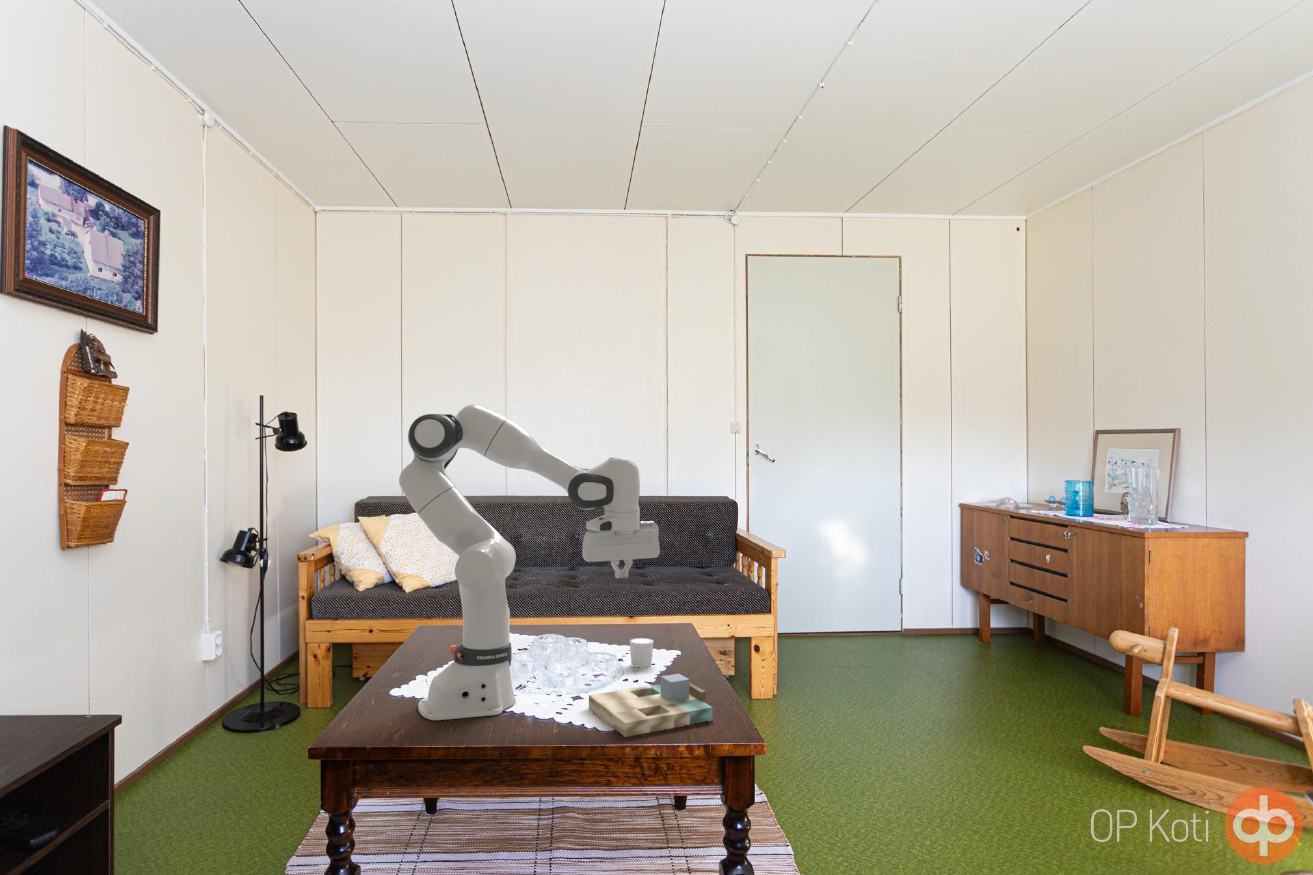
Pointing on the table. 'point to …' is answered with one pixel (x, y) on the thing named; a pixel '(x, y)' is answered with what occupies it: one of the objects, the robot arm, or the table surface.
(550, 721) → the table surface
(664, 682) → the slate block
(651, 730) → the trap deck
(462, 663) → the robot arm
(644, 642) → the shot glass
